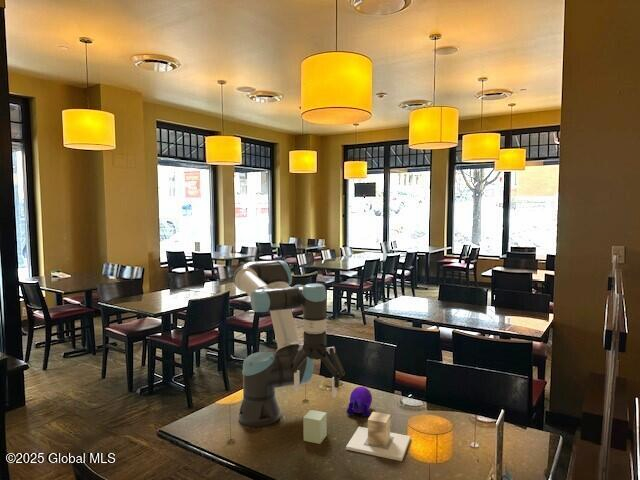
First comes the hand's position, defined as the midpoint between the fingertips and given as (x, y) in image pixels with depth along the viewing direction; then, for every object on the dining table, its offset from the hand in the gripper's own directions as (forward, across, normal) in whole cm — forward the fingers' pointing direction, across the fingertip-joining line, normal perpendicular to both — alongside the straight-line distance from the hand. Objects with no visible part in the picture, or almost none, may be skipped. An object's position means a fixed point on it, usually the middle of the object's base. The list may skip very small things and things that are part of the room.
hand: (315, 393), depth 147 cm
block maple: (+14, +21, +4) cm, 26 cm away
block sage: (+16, 0, 0) cm, 16 cm away
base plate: (+16, +21, +4) cm, 26 cm away
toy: (+16, +8, +23) cm, 29 cm away
